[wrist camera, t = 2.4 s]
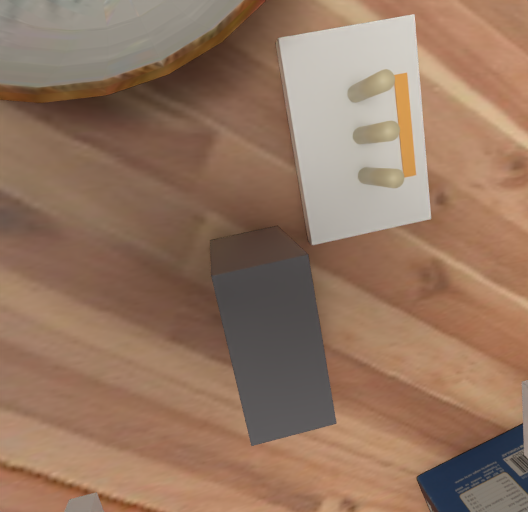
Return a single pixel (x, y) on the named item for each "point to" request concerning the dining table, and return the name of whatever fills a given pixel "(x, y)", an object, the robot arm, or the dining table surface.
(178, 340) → the dining table surface
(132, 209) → the dining table surface
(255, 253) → the block
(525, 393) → the robot arm
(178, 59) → the bowl
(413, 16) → the white peg board
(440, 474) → the protein box
